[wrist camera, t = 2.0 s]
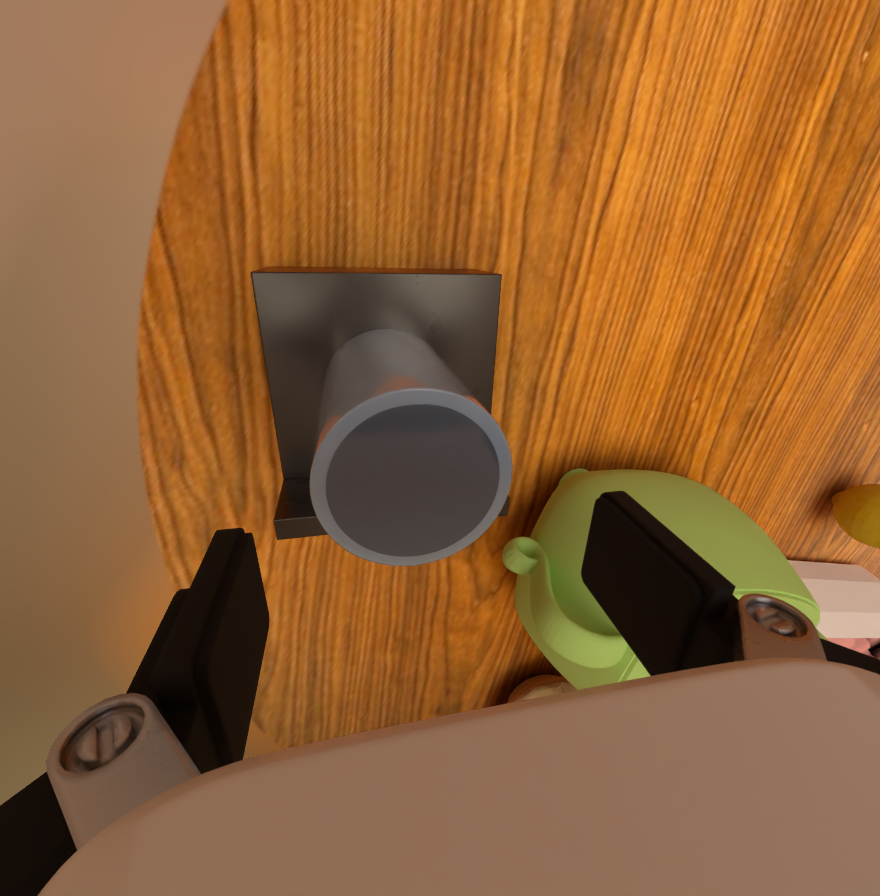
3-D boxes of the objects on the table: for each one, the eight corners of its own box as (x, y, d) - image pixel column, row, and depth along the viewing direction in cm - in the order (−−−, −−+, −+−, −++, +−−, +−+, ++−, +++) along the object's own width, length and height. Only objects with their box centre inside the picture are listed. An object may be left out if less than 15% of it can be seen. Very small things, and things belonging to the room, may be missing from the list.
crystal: (686, 652, 41) (853, 650, 48) (750, 636, 36) (928, 636, 42) (658, 576, 45) (815, 584, 52) (711, 551, 40) (880, 563, 47)
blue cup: (328, 453, 24) (320, 579, 15) (315, 329, 21) (296, 393, 12) (447, 445, 25) (504, 556, 16) (450, 327, 22) (523, 383, 13)
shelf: (294, 459, 29) (276, 540, 21) (266, 266, 23) (229, 277, 16) (466, 447, 31) (508, 515, 23) (475, 269, 26) (533, 280, 18)
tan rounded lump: (476, 749, 48) (499, 837, 41) (494, 657, 42) (525, 741, 35) (564, 734, 50) (600, 814, 43) (594, 644, 44) (642, 721, 37)
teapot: (436, 638, 39) (490, 860, 25) (516, 423, 31) (660, 574, 17) (652, 644, 46) (786, 819, 32) (761, 473, 38) (1002, 606, 24)
